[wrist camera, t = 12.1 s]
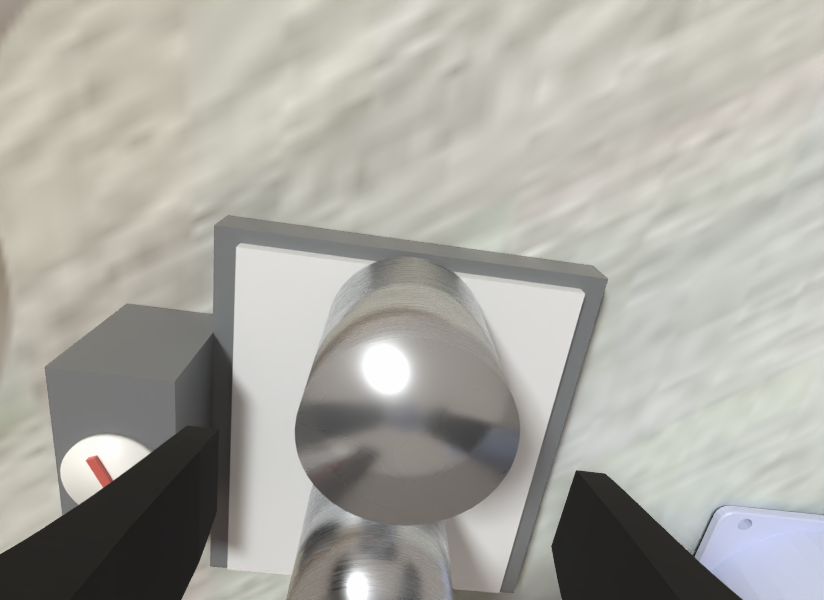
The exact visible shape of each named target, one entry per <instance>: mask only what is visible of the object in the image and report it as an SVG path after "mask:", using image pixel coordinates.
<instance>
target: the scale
mask: <svg viewBox="0 0 824 600" xmlns="http://www.w3.org/2000/svg"><path fill="white" fill-rule="evenodd" d="M393 257H417V258H422V259H427V260H430V261H433V262H436V263H438V264H440V265H443V266H445V267H446V268H448V269H450V270H451V271H453V272H454V273H455V274H456V275H458V276H459V277H460V278H461V279H462V280H463V281H464V282H465V283H466V284H467V285H468V287H469V288H470V290H471V291H472V293H473V294H474V296H475V298H476V300H477V302H478V305H479V308H480V310H481V313H482V316H483V318H484V321H485V323H486V326H487V329H488V331H489V334H490V337H491V339H492V342H493V345H494V347H495V350H496V353H497V355H498V358H499V361H500V363H501V366H502V369H503V371H504V374H505V377H506V379H507V382H508V385H509V387H510V390H511V393H512V395H513V398H514V401H515V404H516V407H517V410H518V414H519V421H520V440H519V446H518V450H517V454H516V457H515V460H514V462H513V464H512V466H511V468H510V470H509V472H508V474H507V475H506V476H505V478H504V479H503V481H502V482H501V483H500V485H499V486H498V487H497V488H496V489H495V490H494V491H493V492H492V493H491V494H490V495H489V496H488V497H487V498H485V499H484V500H483V501H482V502H480V503H479V504H477V505H476V506H474V507H473V508H471V509H469V510H467V511H465V512H463V513H461V514H459V515H457V516H454V517H452V518H449V519H446V520H445V521H446V530H447V539H448V548H449V558H450V567H451V576H452V585H453V589H456V590H467V591H479V592H490V593H499V592H506V593H514V590H515V587H516V583H517V580H518V577H519V573H520V570H521V567H522V563H523V560H524V557H525V553H526V550H527V547H528V543H529V540H530V537H531V533H532V530H533V527H534V523H535V520H536V517H537V513H538V510H539V507H540V503H541V500H542V497H543V493H544V490H545V487H546V483H547V480H548V477H549V473H550V470H551V467H552V464H553V460H554V457H555V454H556V450H557V447H558V444H559V440H560V437H561V434H562V430H563V427H564V424H565V420H566V417H567V414H568V410H569V407H570V404H571V400H572V397H573V394H574V390H575V387H576V384H577V380H578V377H579V374H580V370H581V367H582V364H583V360H584V357H585V354H586V350H587V347H588V344H589V340H590V337H591V334H592V331H593V327H594V324H595V321H596V317H597V314H598V311H599V307H600V304H601V301H602V297H603V294H604V291H605V287H606V284H607V281H608V278H606V277H605V276H604V275H603V274H602V273H601V272H600V271H599V270H597V269H596V268H595V267H594V266H590V265H583V264H575V263H568V262H561V261H554V260H546V259H539V258H532V257H525V256H518V255H510V254H503V253H496V252H489V251H481V250H474V249H467V248H460V247H452V246H445V245H438V244H431V243H424V242H416V241H409V240H402V239H395V238H387V237H380V236H373V235H366V234H358V233H351V232H344V231H337V230H330V229H322V228H315V227H308V226H301V225H293V224H286V223H279V222H272V221H264V220H257V219H250V218H243V217H236V216H226V217H225V218H224V219H222V220H221V221H219V222H218V223H217V224H215V225H214V295H213V314H205V313H197V312H189V311H181V310H173V309H165V308H157V307H149V306H141V305H133V304H126V305H124V306H123V307H122V308H120V309H119V310H118V311H117V312H115V313H114V314H113V315H111V316H110V317H109V318H107V319H106V320H105V321H104V322H102V323H101V324H100V325H98V326H97V327H96V328H95V329H93V330H92V331H91V332H89V333H88V334H87V335H85V336H84V337H83V338H82V339H80V340H79V341H78V342H76V343H75V344H74V345H72V346H71V347H70V348H69V349H67V350H66V351H65V352H63V353H62V354H61V355H59V356H58V357H57V358H56V359H54V360H53V361H52V362H50V363H49V364H48V365H47V366H45V373H46V382H47V390H48V398H49V407H50V415H51V423H52V431H53V440H54V448H55V456H56V465H57V473H58V481H59V490H60V498H61V506H62V515H64V514H66V513H67V512H69V511H70V510H72V509H73V508H75V507H76V506H78V505H79V504H81V503H82V502H84V501H85V500H87V499H88V498H90V497H91V496H92V495H94V494H95V493H97V492H98V491H99V490H101V489H102V488H104V487H105V486H106V485H108V484H109V483H110V482H112V481H113V480H115V479H116V478H117V477H119V476H120V475H121V474H123V473H124V472H126V471H127V470H128V469H130V468H131V467H132V466H134V465H135V464H136V463H138V462H139V461H140V460H142V459H143V458H144V457H146V456H147V455H148V454H150V453H151V452H152V451H154V450H155V449H156V448H158V447H159V446H160V445H161V444H163V443H164V442H165V441H167V440H168V439H169V438H171V437H172V436H173V435H175V434H176V433H178V432H179V431H180V430H182V429H183V428H184V427H186V426H195V427H204V428H213V429H219V443H218V487H217V513H216V516H215V519H214V521H213V524H212V527H211V556H210V566H212V567H223V568H227V569H229V570H240V571H251V572H263V573H274V574H285V575H292V572H293V568H294V563H295V559H296V554H297V550H298V545H299V541H300V536H301V532H302V527H303V523H304V518H305V514H306V509H307V505H308V500H309V496H310V492H311V489H312V486H313V483H312V482H311V480H310V479H309V478H308V476H307V475H306V473H305V471H304V469H303V467H302V465H301V462H300V459H299V457H298V454H297V449H296V443H295V423H296V416H297V412H298V409H299V406H300V402H301V399H302V396H303V393H304V390H305V387H306V384H307V380H308V377H309V374H310V371H311V368H312V365H313V362H314V358H315V355H316V352H317V349H318V346H319V343H320V340H321V336H322V333H323V330H324V327H325V324H326V321H327V318H328V314H329V311H330V308H331V305H332V303H333V300H334V298H335V296H336V294H337V293H338V291H339V290H340V288H341V287H342V286H343V285H344V284H345V282H346V281H347V280H348V279H349V278H350V277H352V276H353V275H354V274H355V273H356V272H358V271H359V270H361V269H362V268H364V267H366V266H368V265H370V264H372V263H375V262H377V261H380V260H383V259H388V258H393Z"/></svg>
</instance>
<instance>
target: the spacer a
mask: <svg viewBox="0 0 824 600" xmlns="http://www.w3.org/2000/svg"><path fill="white" fill-rule="evenodd" d="M286 600H454V594H453V585H452V576H451V567H450V558H449V548H448V539H447V530H446V521H445V520H442V521H439V522H435V523H429V524H423V525H411V526H404V525H389V524H382V523H378V522H373V521H369V520H366V519H363V518H361V517H358V516H355V515H353V514H351V513H349V512H347V511H345V510H343V509H341V508H340V507H338V506H337V505H335V504H334V503H332V502H331V501H330V500H329V499H327V498H326V497H325V496H324V495H323V494H322V493H321V492H320V491H319V490H318V489H317V488H316V487H315V486H314V485H313V486H312V489H311V492H310V496H309V500H308V505H307V509H306V514H305V518H304V523H303V527H302V532H301V536H300V541H299V545H298V550H297V554H296V559H295V563H294V568H293V572H292V577H291V581H290V586H289V590H288V595H287V599H286Z"/></svg>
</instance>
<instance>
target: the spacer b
mask: <svg viewBox="0 0 824 600" xmlns="http://www.w3.org/2000/svg"><path fill="white" fill-rule="evenodd" d="M519 440H520V421H519V414H518V410H517V407H516V404H515V401H514V398H513V395H512V393H511V390H510V387H509V385H508V382H507V379H506V377H505V374H504V371H503V369H502V366H501V363H500V361H499V358H498V355H497V353H496V350H495V347H494V345H493V342H492V339H491V337H490V334H489V331H488V329H487V326H486V323H485V321H484V318H483V316H482V313H481V310H480V308H479V305H478V302H477V300H476V298H475V296H474V294H473V293H472V291H471V290H470V288H469V287H468V285H467V284H466V283H465V282H464V281H463V280H462V279H461V278H460V277H459V276H458V275H456V274H455V273H454V272H453V271H451V270H450V269H448V268H446V267H445V266H443V265H440V264H438V263H436V262H433V261H430V260H427V259H422V258H417V257H393V258H388V259H383V260H380V261H377V262H375V263H372V264H370V265H368V266H366V267H364V268H362V269H361V270H359V271H358V272H356V273H355V274H354V275H353V276H352V277H350V278H349V279H348V280H347V281H346V282H345V284H344V285H343V286H342V287H341V288H340V290H339V291H338V293H337V294H336V296H335V298H334V300H333V303H332V305H331V308H330V311H329V314H328V318H327V321H326V324H325V327H324V330H323V333H322V336H321V340H320V343H319V346H318V349H317V352H316V355H315V358H314V362H313V365H312V368H311V371H310V374H309V377H308V380H307V384H306V387H305V390H304V393H303V396H302V399H301V402H300V406H299V409H298V412H297V416H296V423H295V443H296V449H297V454H298V457H299V459H300V462H301V465H302V467H303V469H304V471H305V473H306V475H307V476H308V478H309V479H310V480H311V482H312V483H313V485H314V486H315V487H316V488H317V489H318V490H319V491H320V492H321V493H322V494H323V495H324V496H325V497H326V498H327V499H329V500H330V501H331V502H332V503H334V504H335V505H337V506H338V507H340V508H341V509H343V510H345V511H347V512H349V513H351V514H353V515H355V516H358V517H361V518H363V519H366V520H369V521H373V522H378V523H382V524H389V525H404V526H411V525H423V524H429V523H435V522H439V521H442V520H446V519H449V518H452V517H454V516H457V515H459V514H461V513H463V512H465V511H467V510H469V509H471V508H473V507H474V506H476V505H477V504H479V503H480V502H482V501H483V500H484V499H485V498H487V497H488V496H489V495H490V494H491V493H492V492H493V491H494V490H495V489H496V488H497V487H498V486H499V485H500V483H501V482H502V481H503V479H504V478H505V476H506V475H507V474H508V472H509V470H510V468H511V466H512V464H513V462H514V460H515V457H516V454H517V450H518V446H519Z"/></svg>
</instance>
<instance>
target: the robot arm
mask: <svg viewBox="0 0 824 600" xmlns="http://www.w3.org/2000/svg"><path fill="white" fill-rule="evenodd" d="M218 443H219V429H213V428H204V427H195V426H186V427H184V428H183V429H182V430H180V431H179V432H178V433H176V434H175V435H173V436H172V437H171V438H169V439H168V440H167V441H165V442H164V443H163V444H161V445H160V446H159V447H158V448H156V449H155V450H154V451H152V452H151V453H150V454H148V455H147V456H146V457H144V458H143V459H142V460H140V461H139V462H138V463H136V464H135V465H134V466H132V467H131V468H130V469H128V470H127V471H126V472H124V473H123V474H121V475H120V476H119V477H117V478H116V479H115V480H113V481H112V482H110V483H109V484H108V485H106V486H105V487H104V488H102V489H101V490H99V491H98V492H97V493H95V494H94V495H92V496H91V497H90V498H88V499H87V500H85V501H84V502H82V503H81V504H79V505H78V506H76V507H75V508H73V509H72V510H70V511H69V512H67V513H66V514H64V515H63V516H61V517H60V518H58V519H57V520H55V521H54V522H52V523H51V524H49V525H48V526H46V527H45V528H43V529H41V530H40V531H38V532H37V533H35V534H33V535H32V536H30V537H29V538H27V539H25V540H24V541H22V542H20V543H19V544H17V545H15V546H14V547H12V548H10V549H9V550H7V551H5V552H3V553H2V554H0V600H181V599H182V597H183V595H184V593H185V591H186V589H187V586H188V584H189V582H190V580H191V578H192V576H193V574H194V572H195V570H196V568H197V565H198V563H199V561H200V558H201V555H202V553H203V550H204V547H205V544H206V542H207V539H208V536H209V533H210V530H211V527H212V524H213V521H214V519H215V516H216V513H217V487H218ZM551 547H552V552H553V558H554V563H555V568H556V574H557V579H558V583H559V588H560V593H561V597H562V600H824V515H817V514H807V513H797V512H788V511H778V510H769V509H759V508H750V507H740V506H724V507H721V508H719V509H718V510H717V511H716V512H715V514H714V515H713V517H712V520H711V522H710V524H709V526H708V528H707V531H706V533H705V535H704V537H703V539H702V542H701V544H700V546H699V548H698V550H697V552H696V555H695V557H694V556H693V555H691V554H690V553H689V552H688V551H687V550H686V549H685V548H684V547H683V546H682V545H681V544H680V543H679V542H677V541H676V540H675V539H674V538H673V537H672V536H671V535H670V534H669V533H668V532H667V531H666V530H665V529H664V528H663V527H662V526H661V525H659V524H658V523H657V522H656V521H655V520H654V519H653V518H652V517H651V516H650V515H649V514H648V513H647V512H646V511H645V510H644V509H643V508H642V507H641V506H640V505H639V504H638V503H637V502H635V501H634V500H633V499H632V498H631V497H630V496H629V495H628V494H627V493H626V492H625V491H624V490H623V489H622V488H621V487H620V486H618V485H617V484H616V483H615V482H614V481H613V480H612V479H611V478H609V477H608V476H607V475H606V474H603V473H595V472H586V471H577V470H576V472H575V475H574V478H573V482H572V485H571V488H570V491H569V494H568V497H567V500H566V503H565V506H564V509H563V512H562V515H561V518H560V522H559V525H558V528H557V531H556V534H555V537H554V540H553V543H552V546H551Z"/></svg>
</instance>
